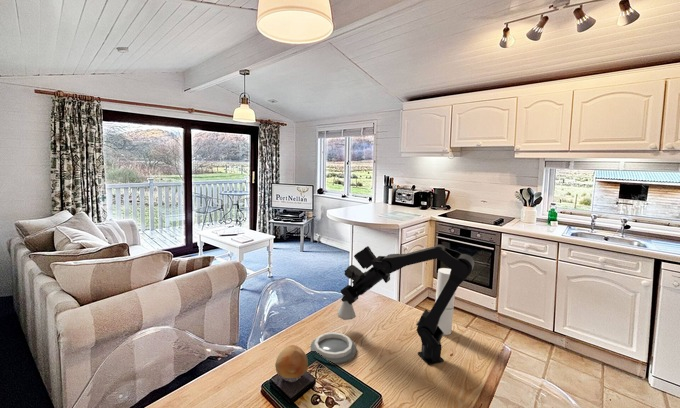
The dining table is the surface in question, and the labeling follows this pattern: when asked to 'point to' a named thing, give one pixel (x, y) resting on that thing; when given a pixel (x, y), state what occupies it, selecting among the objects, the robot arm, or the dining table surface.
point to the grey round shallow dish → (334, 347)
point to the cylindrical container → (447, 315)
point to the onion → (291, 362)
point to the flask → (346, 311)
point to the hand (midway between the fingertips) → (344, 298)
